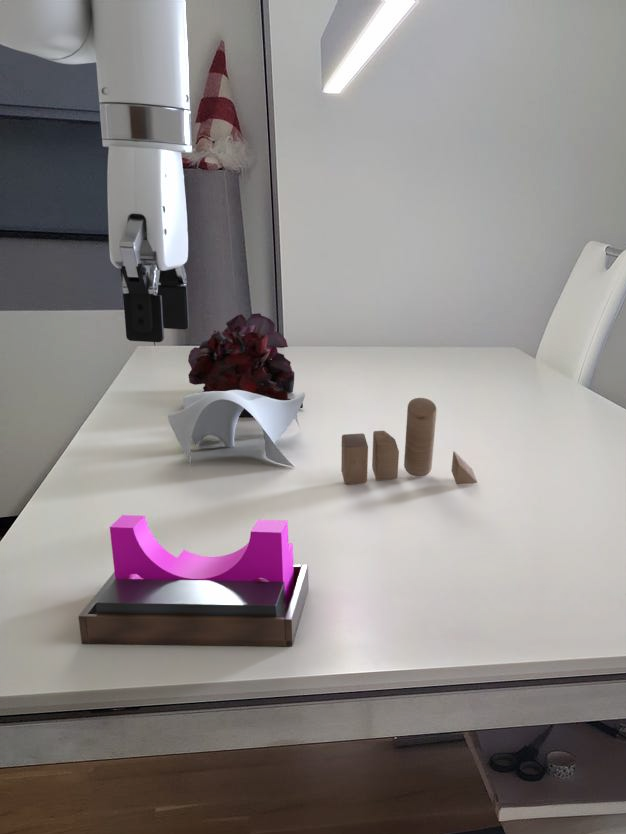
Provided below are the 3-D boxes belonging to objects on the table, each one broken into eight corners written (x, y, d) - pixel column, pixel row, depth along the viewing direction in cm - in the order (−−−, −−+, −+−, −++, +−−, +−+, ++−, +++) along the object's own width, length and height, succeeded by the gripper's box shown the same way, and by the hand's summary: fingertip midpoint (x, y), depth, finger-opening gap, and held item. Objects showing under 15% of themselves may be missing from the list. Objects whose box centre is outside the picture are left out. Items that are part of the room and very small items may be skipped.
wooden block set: (346, 503, 138) (347, 439, 131) (336, 463, 144) (337, 401, 137) (476, 493, 143) (483, 431, 135) (461, 455, 148) (468, 394, 141)
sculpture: (188, 429, 166) (183, 367, 163) (307, 430, 169) (305, 369, 165) (164, 466, 144) (159, 395, 140) (302, 467, 146) (300, 397, 142)
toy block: (294, 587, 100) (291, 512, 97) (284, 611, 94) (281, 532, 91) (137, 582, 99) (130, 507, 96) (118, 606, 94) (109, 527, 91)
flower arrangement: (306, 418, 178) (303, 328, 172) (187, 418, 174) (181, 326, 168) (295, 387, 206) (292, 308, 200) (192, 387, 202) (187, 306, 196)
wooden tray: (81, 643, 87) (76, 605, 86) (125, 585, 100) (121, 551, 99) (292, 646, 88) (291, 608, 87) (308, 588, 101) (307, 555, 100)
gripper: (131, 134, 98) (143, 322, 104) (69, 122, 82) (89, 344, 89) (211, 139, 98) (218, 326, 105) (165, 128, 82) (177, 349, 89)
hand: (159, 334), depth 97 cm, fingers open, 9 cm apart
